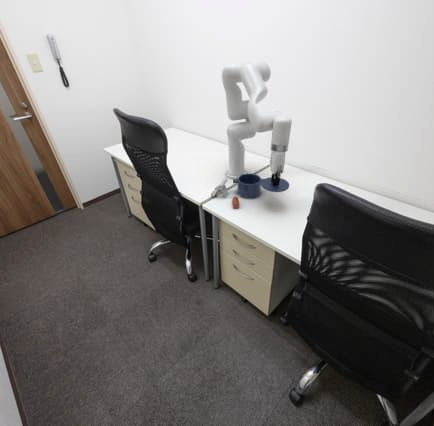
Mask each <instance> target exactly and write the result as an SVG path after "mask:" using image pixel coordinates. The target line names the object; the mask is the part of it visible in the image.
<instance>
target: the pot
mask: <svg viewBox="0 0 434 426" xmlns="http://www.w3.org/2000/svg"><path fill="white" fill-rule="evenodd" d="M264 179H265V178H261V176H259V175H258V174H255V173H246V174H243V175H240V176H239V177H238V179H234V178H232V184H237V195H238V196H239V197H240V198H243V199H255V198H257V197H259V196H260V195H261V188H262V186H261V182H262V180H264Z"/></svg>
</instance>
